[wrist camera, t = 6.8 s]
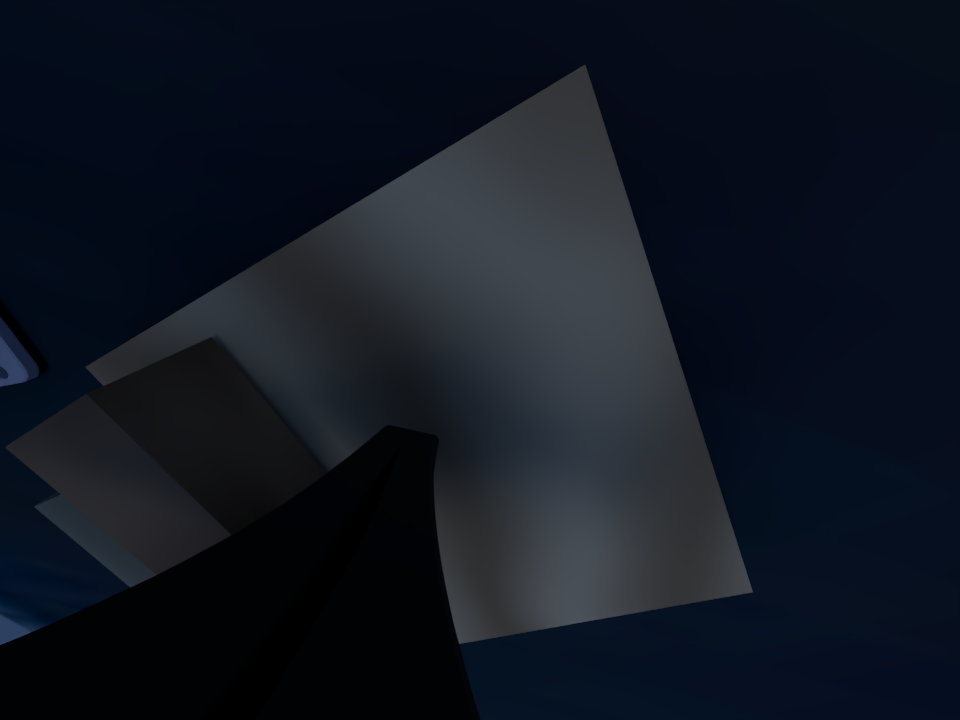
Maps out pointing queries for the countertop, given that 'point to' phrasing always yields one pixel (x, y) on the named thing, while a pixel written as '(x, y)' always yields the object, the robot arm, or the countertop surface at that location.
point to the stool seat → (487, 374)
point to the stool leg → (171, 456)
